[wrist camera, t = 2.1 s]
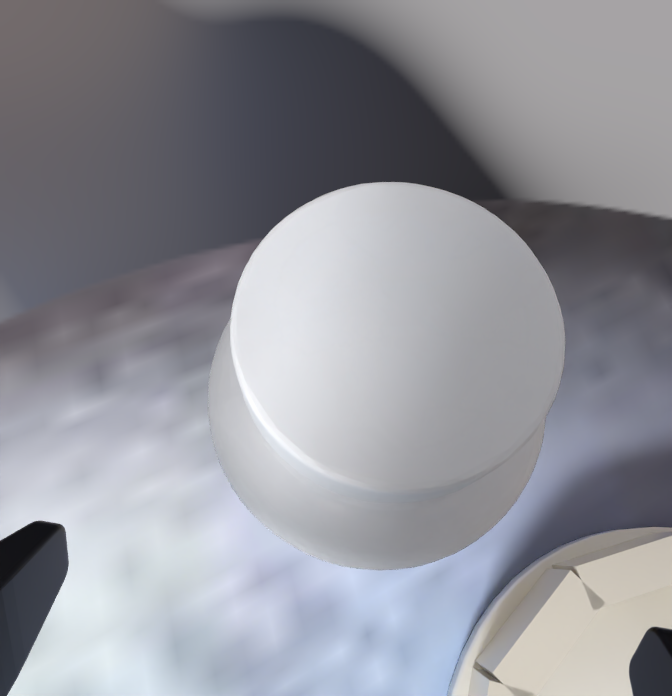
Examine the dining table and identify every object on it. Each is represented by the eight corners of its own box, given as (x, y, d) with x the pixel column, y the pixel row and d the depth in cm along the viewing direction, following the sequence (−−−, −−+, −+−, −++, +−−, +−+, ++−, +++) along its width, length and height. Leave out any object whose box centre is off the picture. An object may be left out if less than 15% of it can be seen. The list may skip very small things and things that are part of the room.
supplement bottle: (432, 365, 21) (584, 115, 9) (460, 552, 19) (713, 554, 7) (253, 378, 21) (161, 135, 9) (260, 570, 18) (149, 607, 6)
